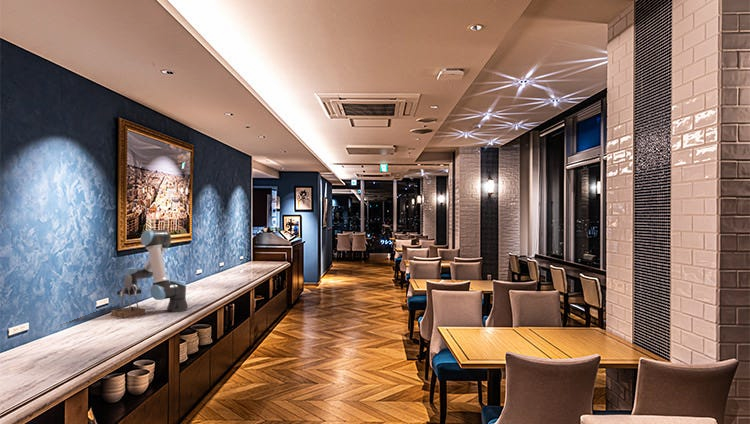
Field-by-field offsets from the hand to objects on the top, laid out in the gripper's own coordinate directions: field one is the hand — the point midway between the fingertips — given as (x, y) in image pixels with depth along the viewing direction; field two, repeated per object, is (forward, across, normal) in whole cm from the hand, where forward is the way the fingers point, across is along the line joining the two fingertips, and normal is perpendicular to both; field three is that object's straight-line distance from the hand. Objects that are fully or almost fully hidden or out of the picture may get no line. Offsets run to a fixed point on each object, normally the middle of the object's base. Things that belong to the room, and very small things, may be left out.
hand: (128, 294), depth 346 cm
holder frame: (-5, 0, -16) cm, 17 cm away
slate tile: (-26, -7, -16) cm, 31 cm away
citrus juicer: (-5, 0, -16) cm, 17 cm away
